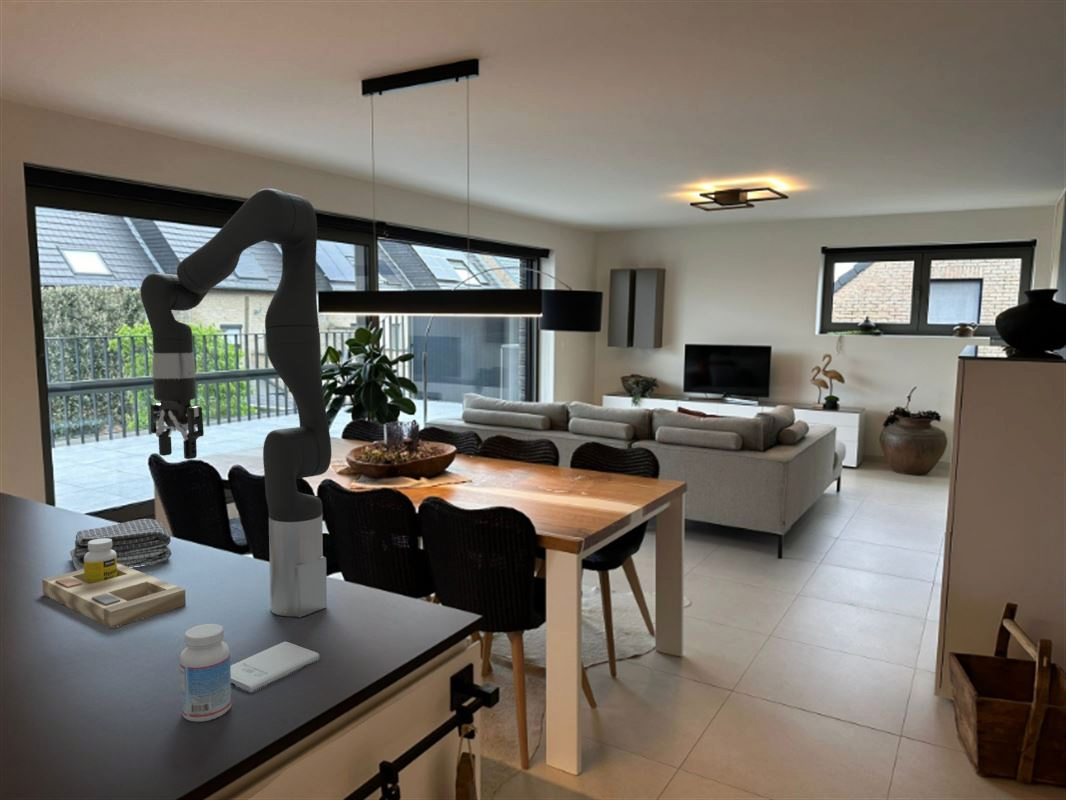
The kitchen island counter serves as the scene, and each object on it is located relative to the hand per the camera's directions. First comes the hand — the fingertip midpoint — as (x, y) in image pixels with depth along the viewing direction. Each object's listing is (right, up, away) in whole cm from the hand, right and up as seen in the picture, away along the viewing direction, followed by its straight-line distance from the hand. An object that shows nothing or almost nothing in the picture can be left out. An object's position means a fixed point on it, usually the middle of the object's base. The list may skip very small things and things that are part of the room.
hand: (177, 456), depth 144 cm
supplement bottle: (-12, -26, -5) cm, 29 cm away
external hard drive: (+31, -30, -35) cm, 56 cm away
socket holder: (-7, -26, -10) cm, 29 cm away
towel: (-19, -24, +13) cm, 33 cm away
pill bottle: (+27, -31, -48) cm, 63 cm away
